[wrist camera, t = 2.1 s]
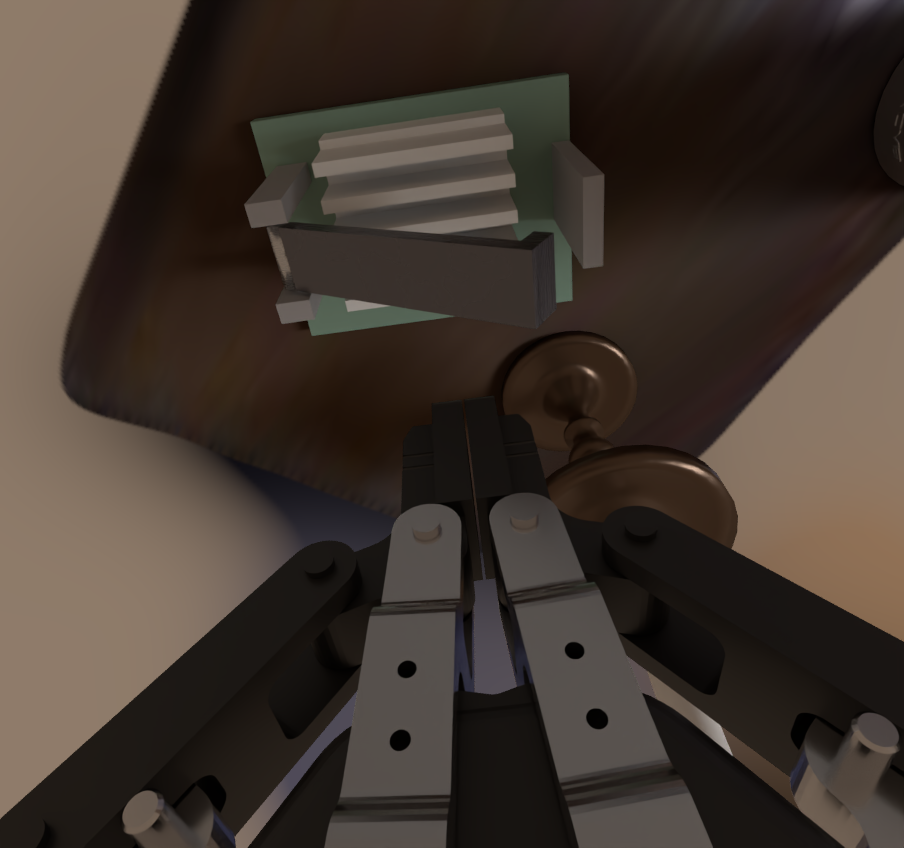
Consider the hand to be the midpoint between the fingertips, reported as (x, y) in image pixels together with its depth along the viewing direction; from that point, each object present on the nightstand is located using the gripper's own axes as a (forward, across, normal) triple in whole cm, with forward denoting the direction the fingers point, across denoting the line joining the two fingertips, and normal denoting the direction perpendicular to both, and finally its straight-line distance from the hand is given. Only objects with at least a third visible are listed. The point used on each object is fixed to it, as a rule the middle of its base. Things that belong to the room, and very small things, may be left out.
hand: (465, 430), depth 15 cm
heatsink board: (+23, +1, +1) cm, 23 cm away
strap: (+14, +1, 0) cm, 14 cm away
